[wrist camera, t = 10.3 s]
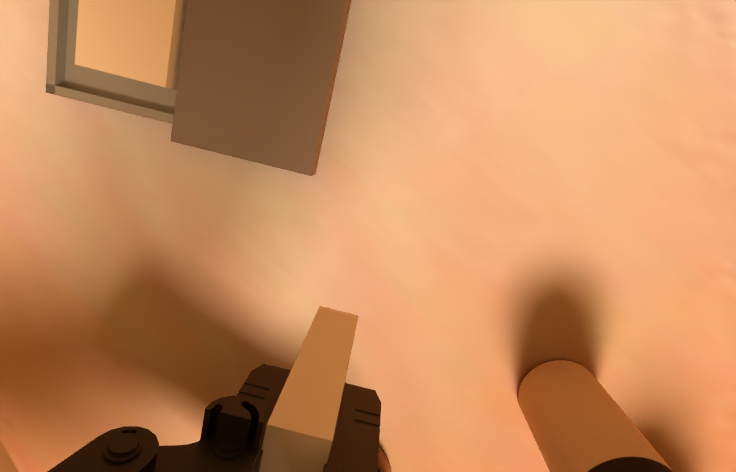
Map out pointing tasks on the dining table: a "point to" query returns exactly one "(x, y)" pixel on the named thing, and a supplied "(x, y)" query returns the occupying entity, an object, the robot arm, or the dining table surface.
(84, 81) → the tray
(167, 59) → the coaster
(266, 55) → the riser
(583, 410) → the travel mug
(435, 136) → the dining table surface
